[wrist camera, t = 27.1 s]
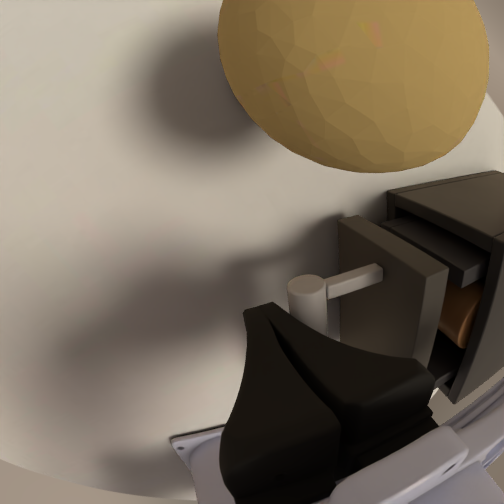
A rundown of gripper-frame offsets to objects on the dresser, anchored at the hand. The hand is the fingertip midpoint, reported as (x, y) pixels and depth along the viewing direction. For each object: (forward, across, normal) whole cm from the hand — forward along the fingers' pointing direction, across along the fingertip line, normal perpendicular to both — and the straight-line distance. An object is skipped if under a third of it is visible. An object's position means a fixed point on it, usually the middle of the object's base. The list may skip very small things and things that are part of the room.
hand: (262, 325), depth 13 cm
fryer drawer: (+3, -8, +2) cm, 9 cm away
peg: (+2, -10, +2) cm, 10 cm away
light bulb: (+4, -3, -10) cm, 11 cm away
